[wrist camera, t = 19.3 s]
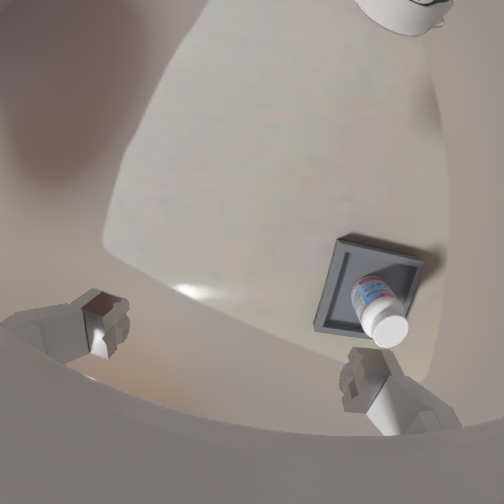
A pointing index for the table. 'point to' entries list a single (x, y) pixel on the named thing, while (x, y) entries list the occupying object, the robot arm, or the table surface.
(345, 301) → the tray
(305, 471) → the robot arm
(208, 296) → the table surface
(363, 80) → the table surface
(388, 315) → the pill bottle
